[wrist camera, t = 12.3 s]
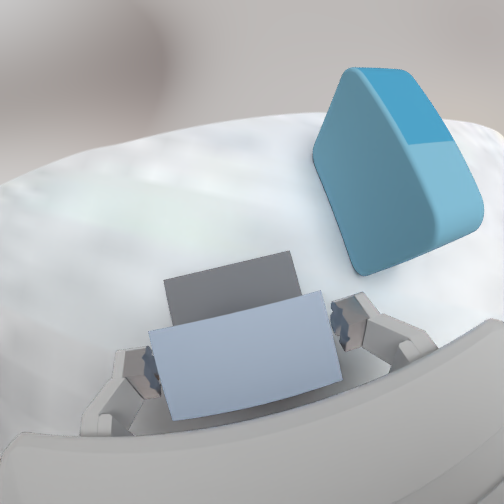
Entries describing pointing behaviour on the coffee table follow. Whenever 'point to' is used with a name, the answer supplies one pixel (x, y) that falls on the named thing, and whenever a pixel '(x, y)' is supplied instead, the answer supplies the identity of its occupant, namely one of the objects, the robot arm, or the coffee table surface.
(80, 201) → the coffee table surface
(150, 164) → the coffee table surface
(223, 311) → the felt mat
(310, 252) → the coffee table surface
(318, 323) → the pale blue pillar
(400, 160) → the data package
